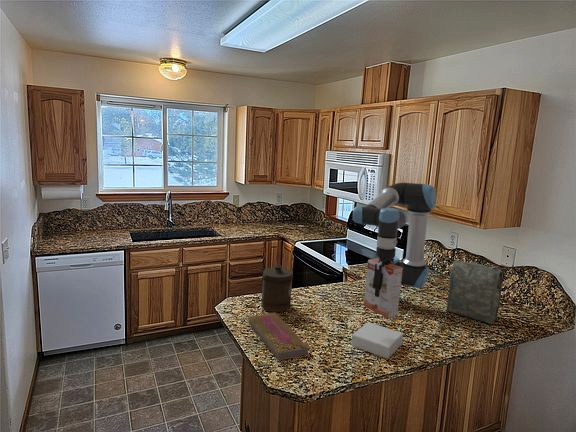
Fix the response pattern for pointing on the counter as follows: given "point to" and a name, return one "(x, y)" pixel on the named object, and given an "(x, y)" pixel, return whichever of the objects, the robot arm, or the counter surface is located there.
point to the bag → (475, 291)
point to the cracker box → (384, 289)
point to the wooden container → (276, 289)
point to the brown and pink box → (284, 331)
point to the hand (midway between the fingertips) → (381, 300)
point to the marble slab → (377, 340)
